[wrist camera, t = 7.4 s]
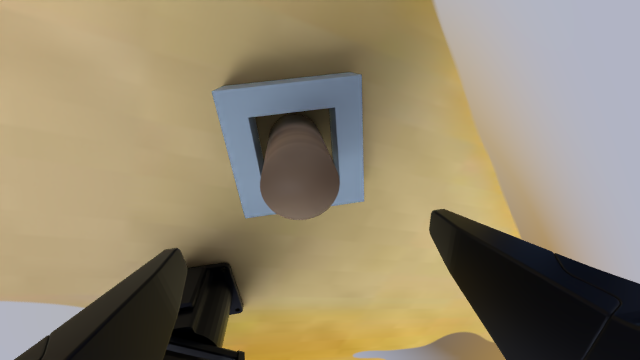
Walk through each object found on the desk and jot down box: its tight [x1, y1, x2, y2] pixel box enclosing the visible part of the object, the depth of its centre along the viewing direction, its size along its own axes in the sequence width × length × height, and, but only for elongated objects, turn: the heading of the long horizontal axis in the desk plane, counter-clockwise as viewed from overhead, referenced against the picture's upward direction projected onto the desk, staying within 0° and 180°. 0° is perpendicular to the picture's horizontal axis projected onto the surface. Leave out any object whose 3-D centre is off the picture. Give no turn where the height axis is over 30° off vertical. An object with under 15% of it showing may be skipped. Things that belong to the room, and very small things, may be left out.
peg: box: [260, 114, 340, 220], centre depth 17 cm, size 4×4×8 cm
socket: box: [212, 72, 364, 218], centre depth 19 cm, size 9×9×3 cm
